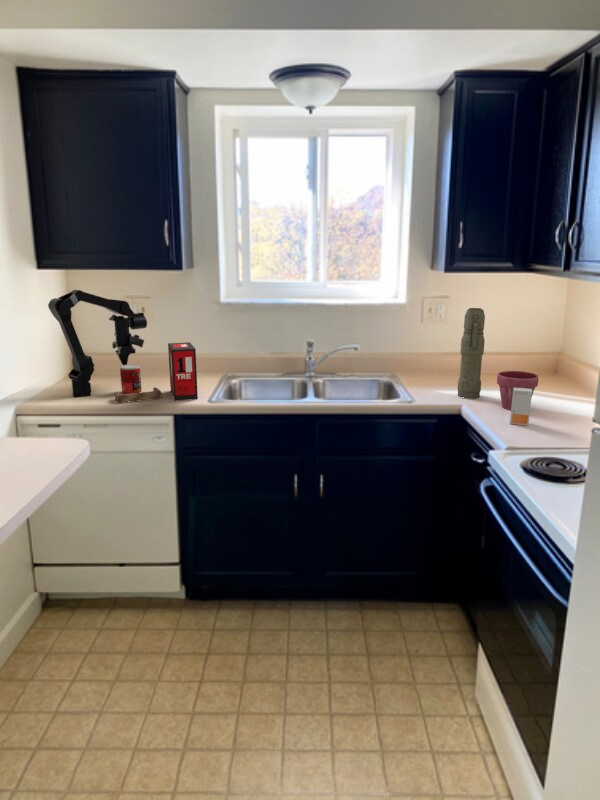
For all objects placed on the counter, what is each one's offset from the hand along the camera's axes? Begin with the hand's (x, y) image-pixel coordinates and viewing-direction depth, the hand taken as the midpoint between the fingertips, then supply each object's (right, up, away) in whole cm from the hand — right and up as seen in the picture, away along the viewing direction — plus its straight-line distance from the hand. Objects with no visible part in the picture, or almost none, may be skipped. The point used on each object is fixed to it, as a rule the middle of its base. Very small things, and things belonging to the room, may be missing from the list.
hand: (125, 367), depth 245 cm
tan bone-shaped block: (+10, -13, -17) cm, 24 cm away
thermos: (+142, -12, -13) cm, 143 cm away
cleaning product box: (+27, -12, -11) cm, 32 cm away
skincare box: (+149, -22, -48) cm, 158 cm away
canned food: (+5, -11, -7) cm, 14 cm away
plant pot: (+154, -17, -29) cm, 158 cm away
